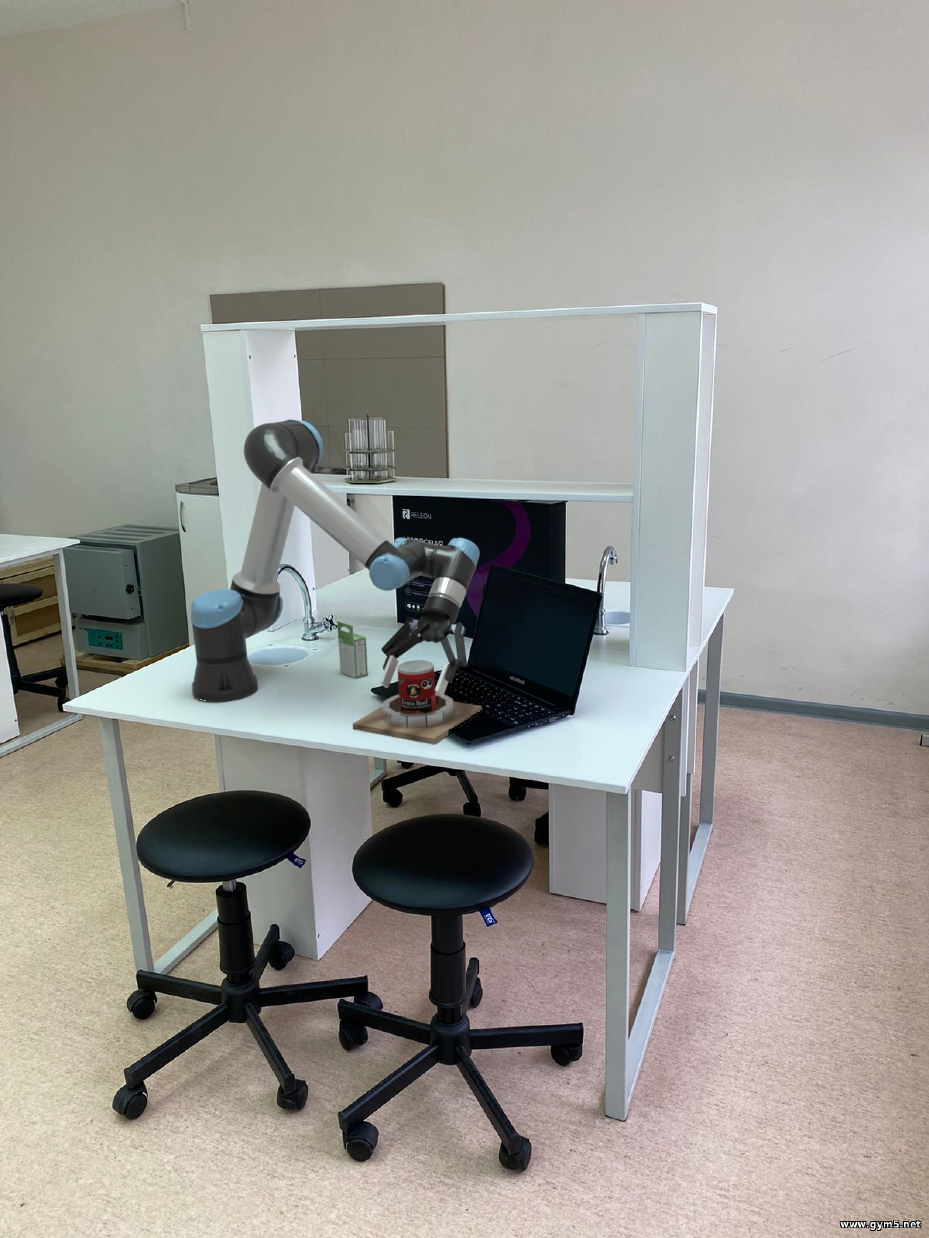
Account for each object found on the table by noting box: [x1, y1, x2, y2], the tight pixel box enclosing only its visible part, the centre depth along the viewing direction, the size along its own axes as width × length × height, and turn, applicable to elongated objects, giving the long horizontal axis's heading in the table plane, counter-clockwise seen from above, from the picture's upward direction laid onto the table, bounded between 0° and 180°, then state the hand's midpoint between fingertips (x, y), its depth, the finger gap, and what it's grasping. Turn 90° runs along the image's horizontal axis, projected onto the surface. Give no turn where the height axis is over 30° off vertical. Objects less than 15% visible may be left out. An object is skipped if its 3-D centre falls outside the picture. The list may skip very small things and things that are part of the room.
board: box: [352, 701, 483, 745], centre depth 202 cm, size 20×20×1 cm
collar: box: [381, 692, 454, 728], centre depth 202 cm, size 15×15×2 cm
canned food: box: [397, 659, 436, 714], centre depth 201 cm, size 8×8×11 cm
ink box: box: [336, 621, 369, 679], centre depth 232 cm, size 7×4×13 cm, turn 40°
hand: (410, 689), depth 199 cm, fingers open, 13 cm apart
